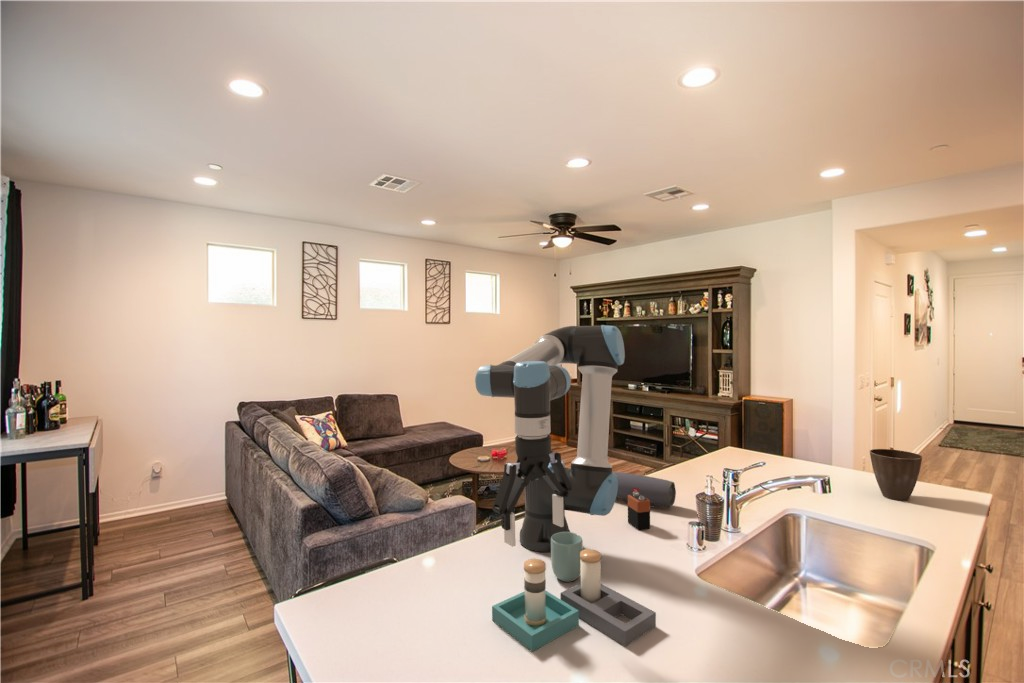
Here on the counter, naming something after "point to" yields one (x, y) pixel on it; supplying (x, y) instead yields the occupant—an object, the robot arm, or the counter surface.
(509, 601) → the parts tray
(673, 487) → the bluetooth speaker
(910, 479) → the plant pot
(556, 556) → the cup
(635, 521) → the battery
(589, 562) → the cylinder
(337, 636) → the counter surface
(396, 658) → the counter surface
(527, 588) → the fuse
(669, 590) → the counter surface
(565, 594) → the fuse holder
